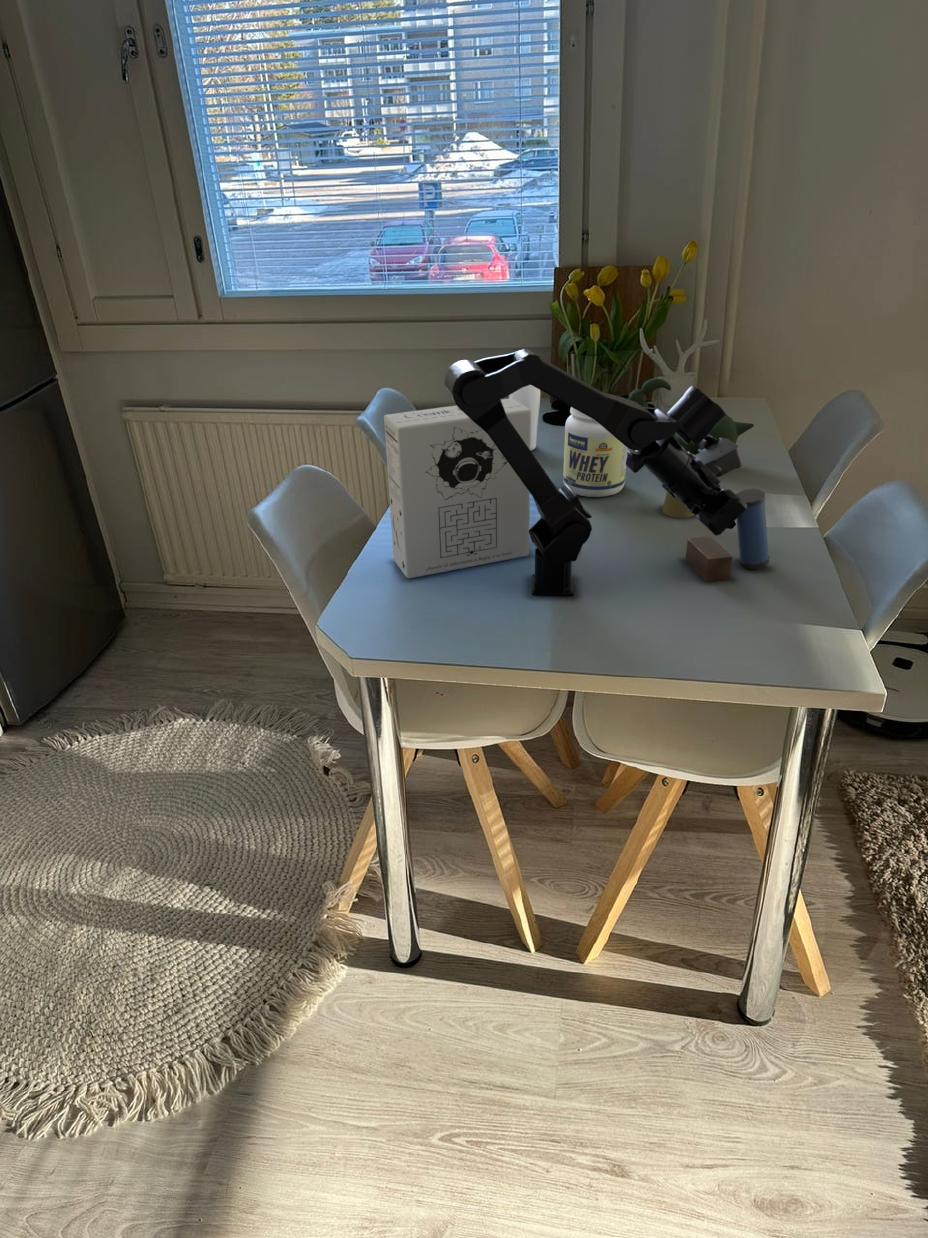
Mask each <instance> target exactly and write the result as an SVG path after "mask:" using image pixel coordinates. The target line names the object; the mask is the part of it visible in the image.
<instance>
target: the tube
mask: <svg viewBox="0 0 928 1238" xmlns="http://www.w3.org/2000/svg"><path fill="white" fill-rule="evenodd" d="M735 494H736V495H738V496H739V497H740V498H741V499H742V500H743V501H744V502H745V503H746V504H747V509H746V510H745V511H744V512H743V513H742V514H741V515H740V516H739V517H738V518H737V519H736V529H737V541H738V542H737V543H738V552H739V558H738V559H739V565H740V566H741V567H742V568H745V569H747V570H748V569H749V570H757V569H758V570H759V569H761V568H764V567H766V566H767V565H769V563H770V555H769V543H768V530H767V529H768V528H767V514H766V493H765V491H763V490H761V489H757V488H747V489H742V490H740V491H738V492H736V493H735Z"/></svg>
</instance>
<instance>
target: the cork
mask: <svg viewBox="0 0 928 1238" xmlns="http://www.w3.org/2000/svg"><path fill="white" fill-rule="evenodd" d="M692 455H693V456H695V455H694V454H692ZM662 513H663V514H664V515H666V516H668V517H672V518H678V519H686V518H691V517H693V516H696V515H695V514H693V513H691V512H690V511H689V510H688V509H686V508H685V505H684V504H683V503H682V502H681V501H680V500H679V499H678V498H677V497H676V498H674V497H673V496H672V495H670V494H669V493H668V492H667V491H666V493H665V498H664V502H663V506H662Z"/></svg>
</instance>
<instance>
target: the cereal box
mask: <svg viewBox="0 0 928 1238" xmlns="http://www.w3.org/2000/svg"><path fill="white" fill-rule="evenodd" d="M501 402H502V404H503V407H504V410H505V413H506V415H507V417H508V419H509V421H510V422H511V424H512V425H513V426H514V428H515V429H516V431H517V432H518V434H519V435H520V436H521V438H522V439H523V441H524V442H525V444H526V445H527V446H528V448H529V449H530V445H531V410H530V409H528V408H527V407H525V406H523V405H522V404H520V403H518V402H517V401H515V400H514V399H512V398H509V397H508V398H502V399H501ZM383 424H384V438H385V439H384V440H385V452H386V466H387V480H388V495H389V496H388V497H389V510H390V523H391V524H390V525H391V526H390V527H391V538H392V539H391V540H392V551H393V552H392V553H393V561H394V563H395V564H396V565H397V567H398V568H399V569H400V571H401V572H402V573H403V574H404V576H405V578H406V579H414V578H420V577H424V576H430V575H434V574H435V575H436V574H440V573H445V572H451V571H455V570H461V569H466V568H472V567H475V566H476V567H477V566H481V565H487V564H493V563H498V562H503V561H507V560H513V559H514V560H515V559H518V558H523V557H528V556H529V555H530V535H529V530H530V513H531V512H530V508H531V507H530V504H531V502H530V501H531V493H530V492H529V491H528V489H527V488H526V486H525V485H524V484H523V482H522V481H521V480H520V478H519V477H518V475H517V474H516V473H515V471H514V470H513V468H512V467H511V466H510V464H509V463H508V462H507V460H506V459H505V457H504V456H503V455H502V453H501V452H500V451H499V449H498V448H497V446H496V445H495V444H494V442H493V441H492V439H491V438H490V437H489V435H488V434H487V433H486V432H485V431H484V430H483V429H481V428H480V427H479V426H478V425H477V424H476V423H474V422H473V421H472V420H471V419H470V418H469V417H468V416H467V415H466V414H465V413H464V412H463V411H462V410H460V409H459V408H458V406H457V405H456V404H455V405H449V406H442V407H441V406H440V407H434V408H433V407H432V408H427V409H418V410H411V411H404V412H397V413H396V412H395V413H389V414H384V416H383Z"/></svg>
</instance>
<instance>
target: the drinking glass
mask: <svg viewBox="0 0 928 1238" xmlns="http://www.w3.org/2000/svg"><path fill="white" fill-rule="evenodd" d="M509 398H512V399H514V400H515V401H517V402H518V403H520V404H522V405H523V406H525V407H527V408H528V409H530V410H531V445H530V451H531V452H532V451H534V450H535V449H536V447H537V435H538V427H539V425H538V424H539V415H540V406H541V390H539V389H538V388H536V387H534V386H532V385H528V386H525V387H523V388H521V389H519V390H517V391H516V392H514V393H512V394H510V395H509V396H508V399H509Z"/></svg>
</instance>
